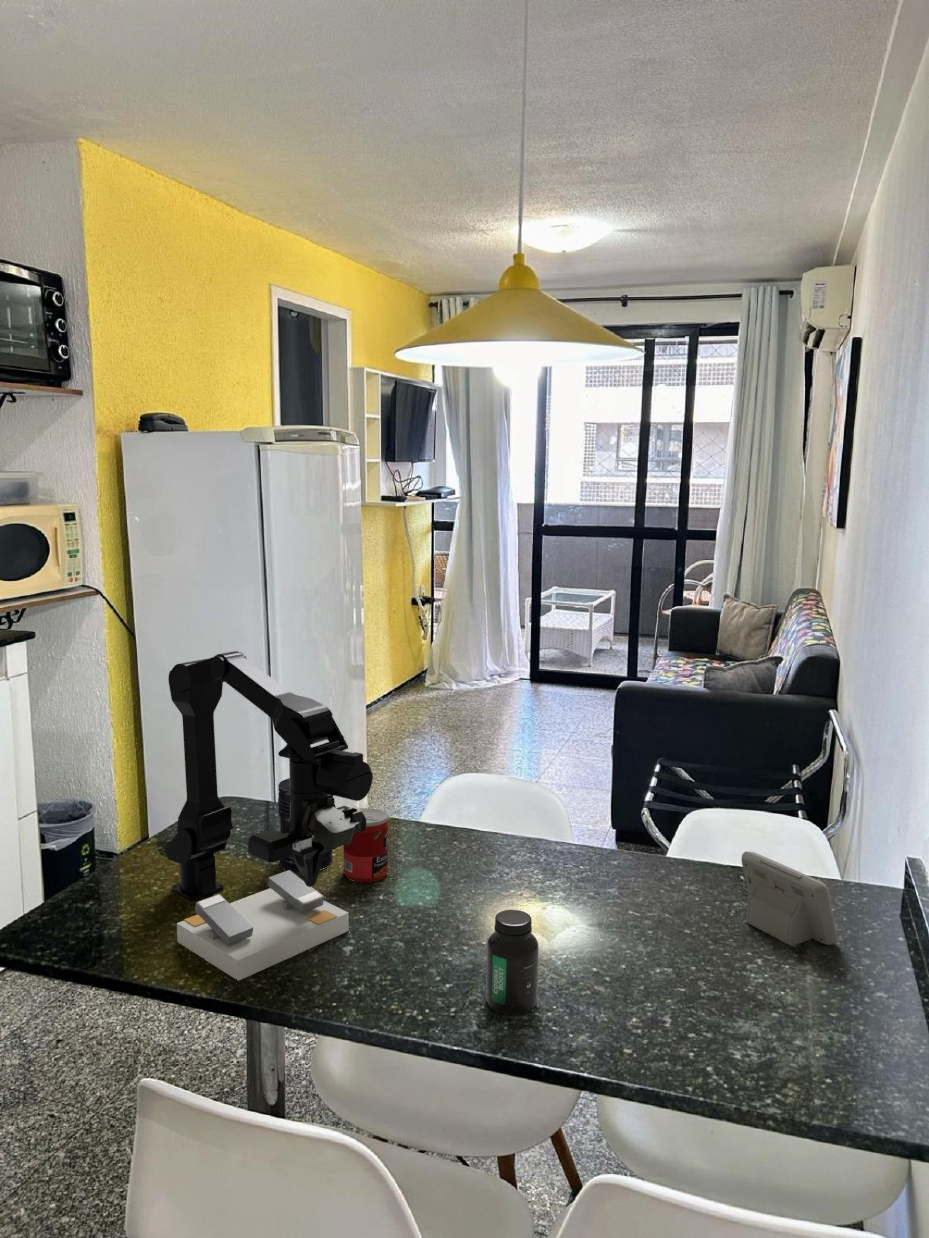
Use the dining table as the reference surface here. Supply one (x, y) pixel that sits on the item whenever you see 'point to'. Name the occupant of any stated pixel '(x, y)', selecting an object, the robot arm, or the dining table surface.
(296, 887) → the rocker
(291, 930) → the switch base
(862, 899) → the dining table surface
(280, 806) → the storage jar
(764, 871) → the digital clock
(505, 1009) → the supplement bottle
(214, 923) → the block
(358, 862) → the canned food
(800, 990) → the dining table surface
